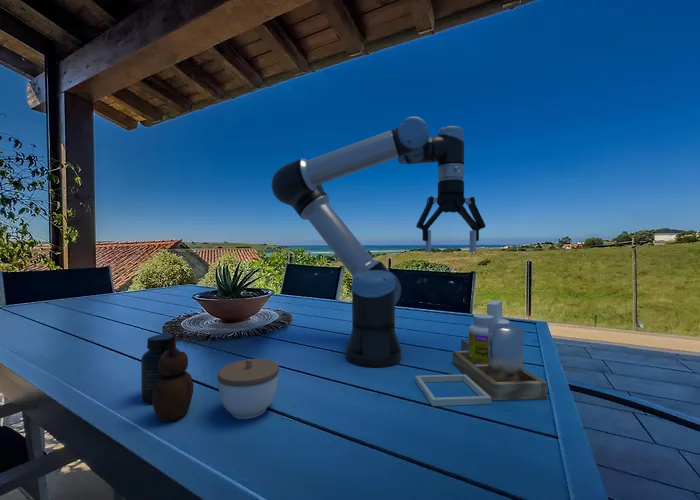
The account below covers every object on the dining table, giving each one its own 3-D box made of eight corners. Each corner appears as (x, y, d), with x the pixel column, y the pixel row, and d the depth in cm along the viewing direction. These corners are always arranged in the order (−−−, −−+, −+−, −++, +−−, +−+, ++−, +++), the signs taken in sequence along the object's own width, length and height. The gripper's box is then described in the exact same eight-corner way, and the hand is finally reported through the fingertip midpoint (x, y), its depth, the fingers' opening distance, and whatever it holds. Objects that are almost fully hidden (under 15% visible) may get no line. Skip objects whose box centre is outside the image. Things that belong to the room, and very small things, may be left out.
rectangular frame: (432, 406, 61) (432, 399, 61) (415, 381, 72) (415, 375, 72) (491, 404, 62) (491, 397, 62) (465, 379, 73) (465, 374, 73)
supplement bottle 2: (471, 372, 76) (470, 318, 76) (466, 362, 83) (466, 312, 83) (501, 374, 75) (501, 319, 75) (494, 364, 81) (494, 313, 81)
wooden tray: (493, 400, 63) (493, 384, 63) (452, 362, 84) (452, 351, 84) (547, 398, 64) (547, 383, 64) (493, 361, 85) (493, 350, 85)
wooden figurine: (165, 407, 60) (165, 327, 60) (197, 405, 61) (197, 326, 61) (146, 427, 54) (145, 337, 54) (181, 425, 54) (181, 336, 54)
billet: (498, 392, 65) (498, 331, 65) (482, 379, 72) (482, 323, 72) (530, 391, 66) (530, 330, 66) (511, 378, 73) (511, 323, 73)
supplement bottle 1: (155, 388, 68) (155, 332, 68) (187, 389, 68) (187, 332, 68) (133, 404, 62) (132, 341, 62) (168, 404, 61) (167, 342, 61)
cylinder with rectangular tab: (483, 333, 113) (483, 299, 113) (512, 337, 108) (512, 302, 108) (477, 339, 106) (477, 302, 106) (506, 344, 101) (507, 305, 101)
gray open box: (472, 361, 85) (472, 346, 85) (461, 353, 92) (461, 339, 92) (497, 361, 85) (497, 345, 85) (484, 352, 92) (484, 338, 92)
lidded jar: (218, 432, 52) (218, 374, 52) (217, 403, 62) (217, 354, 62) (284, 418, 56) (284, 365, 56) (273, 393, 66) (273, 347, 66)
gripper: (412, 177, 91) (412, 252, 91) (497, 178, 93) (497, 252, 93) (406, 182, 98) (406, 252, 99) (485, 184, 100) (485, 252, 100)
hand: (450, 252), depth 96 cm, fingers open, 13 cm apart
